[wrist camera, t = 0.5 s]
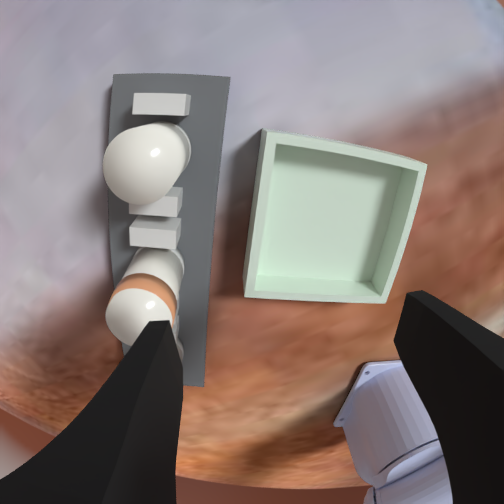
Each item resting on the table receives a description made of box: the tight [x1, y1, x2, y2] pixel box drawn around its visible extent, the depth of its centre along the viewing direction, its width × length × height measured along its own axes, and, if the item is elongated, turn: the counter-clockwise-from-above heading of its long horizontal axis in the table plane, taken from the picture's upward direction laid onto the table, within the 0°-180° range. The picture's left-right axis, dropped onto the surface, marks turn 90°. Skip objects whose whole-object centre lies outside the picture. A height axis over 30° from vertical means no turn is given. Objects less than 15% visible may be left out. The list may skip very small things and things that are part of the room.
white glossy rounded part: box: [103, 121, 192, 205], centre depth 13 cm, size 3×3×4 cm
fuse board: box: [108, 73, 230, 387], centre depth 18 cm, size 21×6×3 cm, turn 173°
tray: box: [243, 128, 427, 303], centre depth 17 cm, size 9×9×2 cm
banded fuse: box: [105, 246, 185, 346], centre depth 15 cm, size 3×3×6 cm
